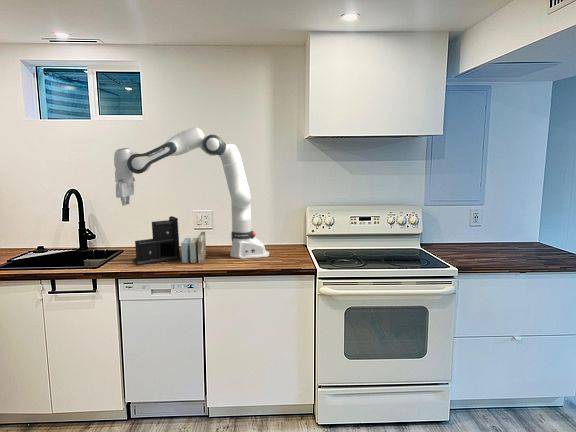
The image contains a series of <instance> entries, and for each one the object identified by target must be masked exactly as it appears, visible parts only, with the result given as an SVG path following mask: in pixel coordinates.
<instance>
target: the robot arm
mask: <svg viewBox="0 0 576 432" xmlns="http://www.w3.org/2000/svg"><path fill="white" fill-rule="evenodd" d="M198 148H200V149H201V150H202V151H203V152H204V153H205V154H206V155H208V156H211V157H213V156H214V157H215V156H218V157H219V158H220V161H221V164H222V167H223V171H224V175H225V178H226V183H227V189H228V191H229V196H230V201H231V204H230V205H231V235H230V236H231V237H230V238H231V248H230V254H229V256H230V257H231V258H237V259H241V260H242V259H245V260H247V259H256V258H257V259H258V258H267V257H269V256H270V252H269V251H268V250H266V247H265V244H264V243H263V241H261V240H259V239H258V238H257V237H256V236H257V233H256V232H255V230H252V210H251V209H252V208H251V207H252V204H251V202H252V195H251V190H250V185H249V183H248V179H247V175H246V172H245V168H244V165H243V164H244V163H243V160H242V156H241V153H240V151H239V148H238V147H237V146H236V144H233V143H225V142H224V140H222V138H221V137H220V136H218V135H216V134H208V135H205V133H204V132H203V130H202V129H200V128H199V127H191V128H188V129H186V130H182V131H180V132H177V134H174V135H173V136H172V137H170V138H168V139H167V141H165V142H164V143H163V144H161V145H160V146H157V147H155V148H153V149H151V150H149V151H146V152H144V153H138V152H135V151H134V150H132V149H130V148H129V147H126V148H125V147H124V148H119V149H116V150H115V152H114V156H113V162H114V163H113V164H114V169H115V171H114V178H115V180H114V182H115V183H116V184H115V197H116V198H117V199H120V201H121V206H127V205H130V202H131V196H134V193H135V183H134V182H136V179H135V177H134V174H136V175H137V174H138V175H141V174H143V173H145V172H147V171H148V170H149V169H150V168H151V166H152V165H153V164H154V163H156V162H159V161H161V160H163V159H165V158H168V157H173V156H181V155H184V154H187V153H189V152H191V151H192V150H195V149H198Z"/></svg>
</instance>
